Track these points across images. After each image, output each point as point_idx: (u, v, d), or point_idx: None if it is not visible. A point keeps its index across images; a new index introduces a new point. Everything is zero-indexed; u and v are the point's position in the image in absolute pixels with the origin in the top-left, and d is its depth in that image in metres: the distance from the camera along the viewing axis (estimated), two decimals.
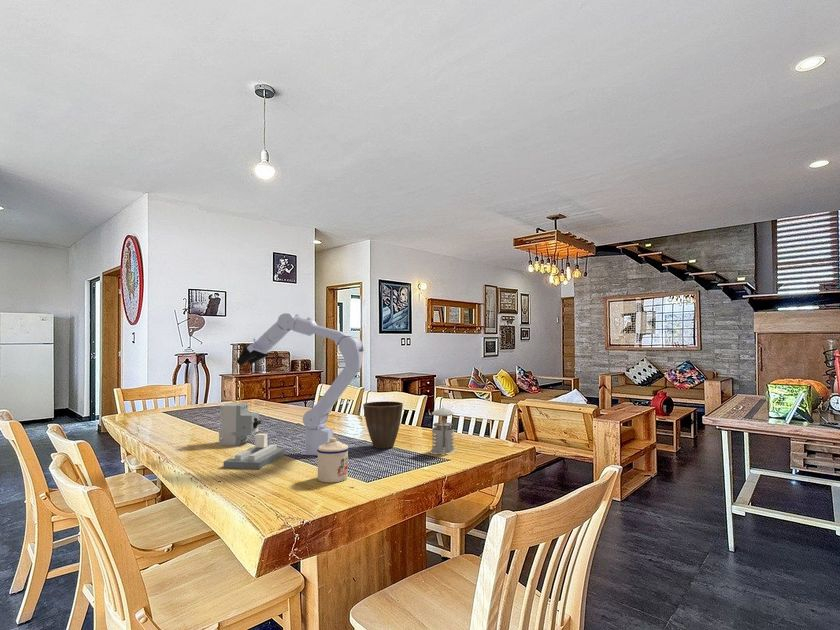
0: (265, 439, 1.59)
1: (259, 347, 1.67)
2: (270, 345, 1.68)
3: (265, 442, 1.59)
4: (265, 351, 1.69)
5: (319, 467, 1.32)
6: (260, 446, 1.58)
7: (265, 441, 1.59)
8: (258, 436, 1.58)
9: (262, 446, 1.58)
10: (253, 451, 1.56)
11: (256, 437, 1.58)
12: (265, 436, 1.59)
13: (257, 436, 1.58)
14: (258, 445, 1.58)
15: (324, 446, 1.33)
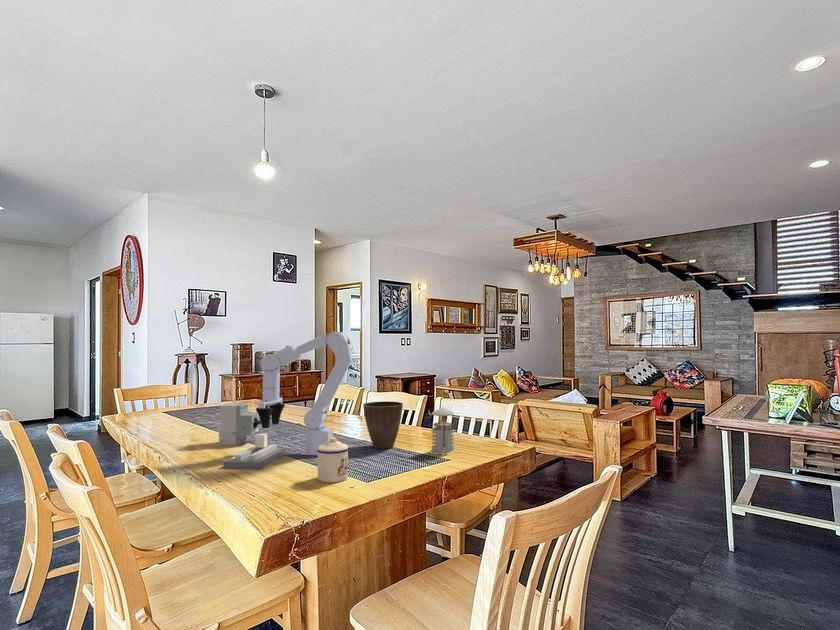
0: (265, 439, 1.59)
1: (269, 400, 1.64)
2: (275, 391, 1.65)
3: (265, 442, 1.59)
4: (276, 400, 1.65)
5: (319, 467, 1.32)
6: (260, 446, 1.58)
7: (265, 441, 1.59)
8: (258, 436, 1.58)
9: (262, 446, 1.58)
10: (253, 451, 1.56)
11: (256, 437, 1.58)
12: (265, 436, 1.59)
13: (257, 436, 1.58)
14: (258, 445, 1.58)
15: (324, 446, 1.33)
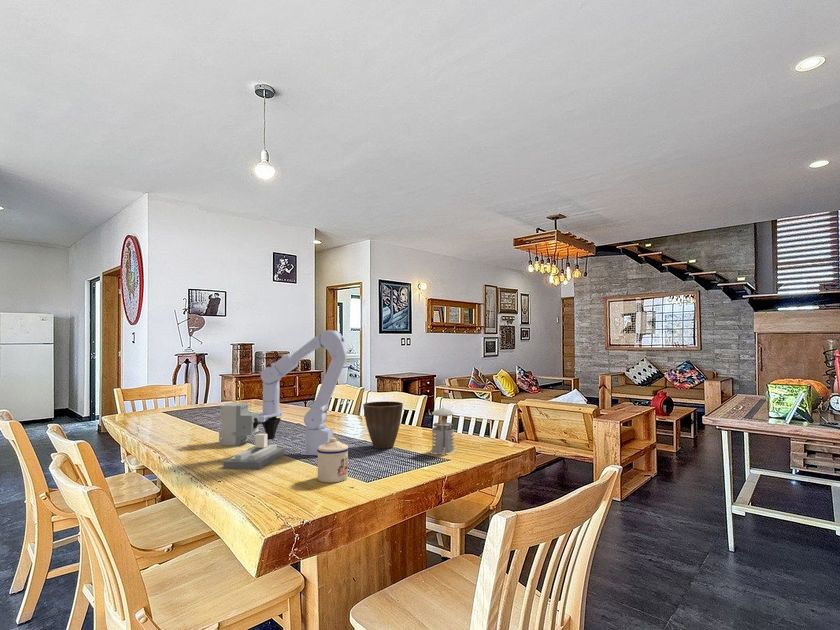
0: (265, 439, 1.59)
1: (268, 414, 1.63)
2: (275, 404, 1.65)
3: (265, 442, 1.59)
4: (276, 413, 1.65)
5: (319, 467, 1.32)
6: (260, 446, 1.58)
7: (265, 441, 1.59)
8: (258, 436, 1.58)
9: (262, 446, 1.58)
10: (253, 451, 1.56)
11: (256, 437, 1.58)
12: (265, 436, 1.59)
13: (257, 436, 1.58)
14: (258, 445, 1.58)
15: (324, 446, 1.33)
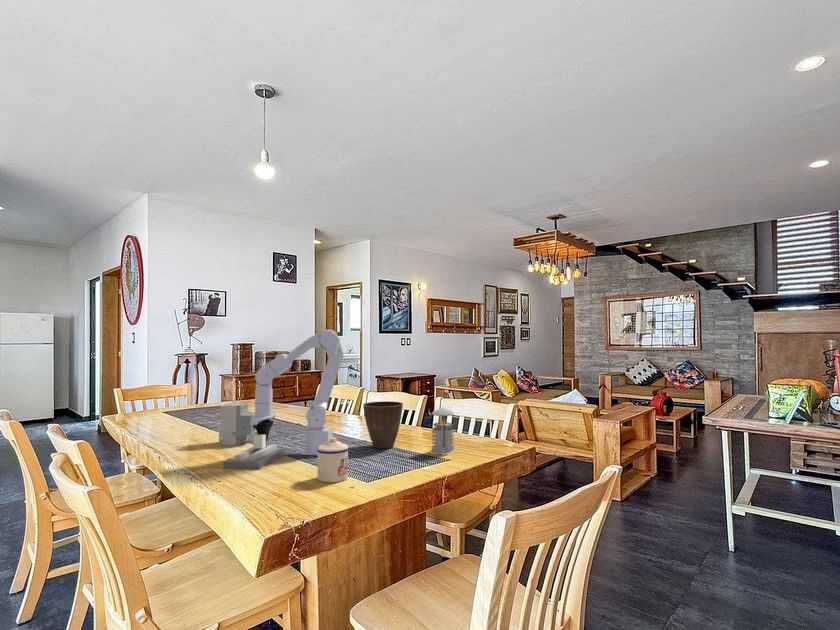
0: (263, 440, 1.57)
1: (261, 416, 1.58)
2: (268, 407, 1.59)
3: (263, 443, 1.57)
4: (269, 415, 1.59)
5: (319, 467, 1.32)
6: (258, 447, 1.56)
7: (263, 442, 1.57)
8: (256, 437, 1.57)
9: (260, 447, 1.56)
10: (253, 451, 1.56)
11: (254, 438, 1.57)
12: (263, 437, 1.57)
13: (255, 437, 1.57)
14: (256, 446, 1.57)
15: (324, 446, 1.33)
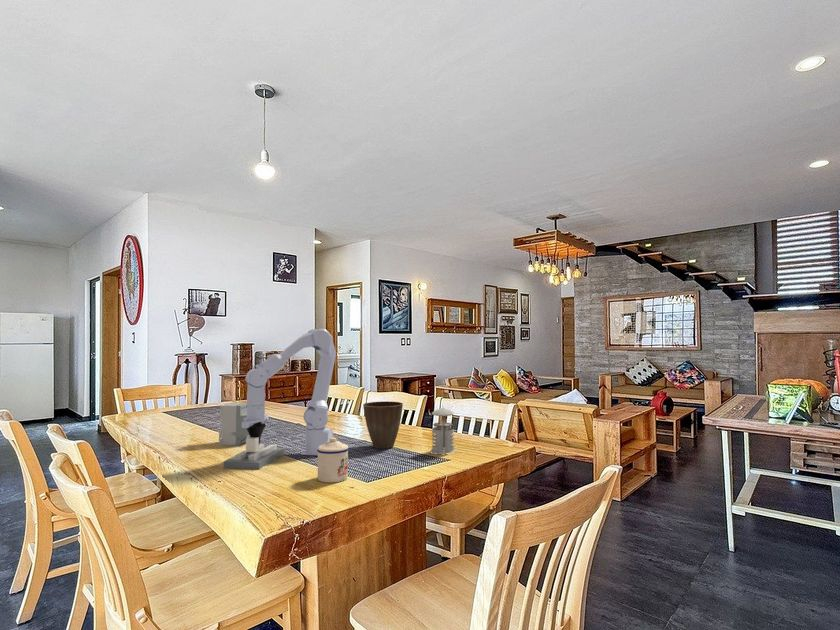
0: (256, 443, 1.52)
1: (253, 419, 1.52)
2: (260, 409, 1.54)
3: (256, 446, 1.52)
4: (261, 418, 1.54)
5: (319, 467, 1.32)
6: (251, 450, 1.51)
7: (256, 445, 1.52)
8: (249, 440, 1.52)
9: (253, 450, 1.51)
10: None
11: (247, 441, 1.52)
12: (256, 440, 1.52)
13: (248, 440, 1.52)
14: (249, 449, 1.52)
15: (324, 446, 1.33)
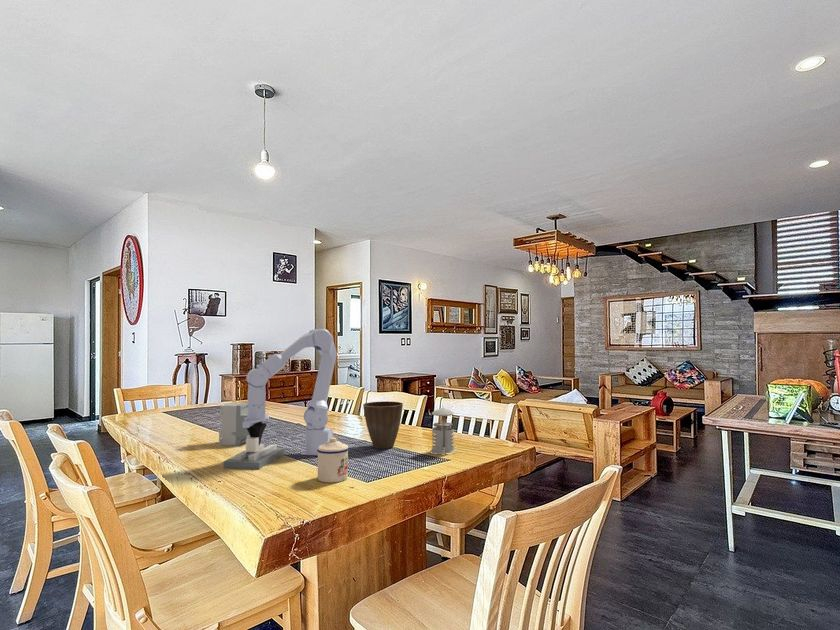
0: (256, 443, 1.52)
1: (254, 419, 1.53)
2: (261, 409, 1.54)
3: (256, 446, 1.52)
4: (262, 418, 1.54)
5: (319, 467, 1.32)
6: (251, 450, 1.52)
7: (256, 445, 1.52)
8: (249, 440, 1.52)
9: (253, 450, 1.51)
10: None
11: (247, 441, 1.52)
12: (256, 440, 1.53)
13: (248, 440, 1.52)
14: (249, 449, 1.52)
15: (324, 446, 1.33)
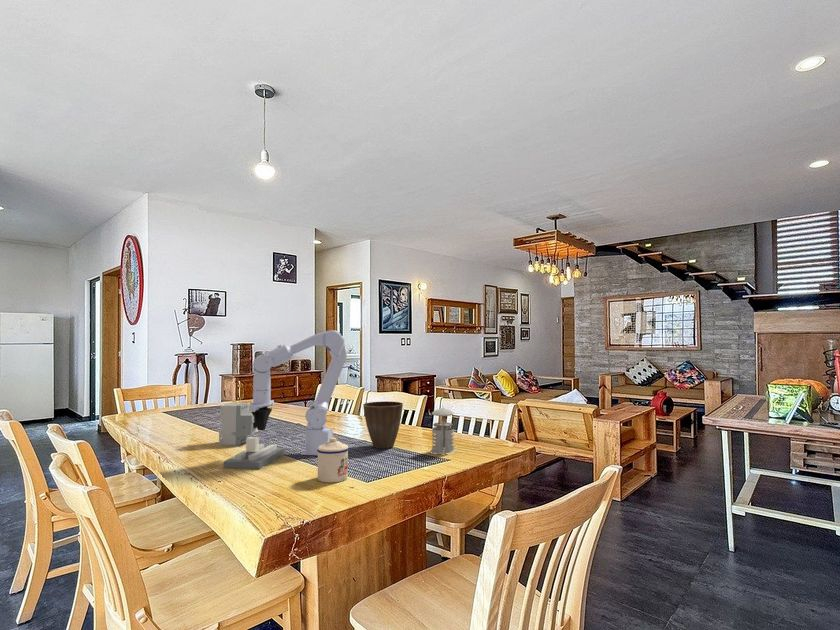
0: (256, 443, 1.53)
1: (259, 403, 1.57)
2: (266, 394, 1.58)
3: (256, 446, 1.53)
4: (267, 402, 1.59)
5: (319, 467, 1.32)
6: (251, 450, 1.52)
7: (256, 445, 1.53)
8: (249, 440, 1.52)
9: (253, 450, 1.52)
10: None
11: (247, 441, 1.52)
12: (256, 440, 1.53)
13: (248, 440, 1.52)
14: (249, 449, 1.52)
15: (324, 446, 1.33)
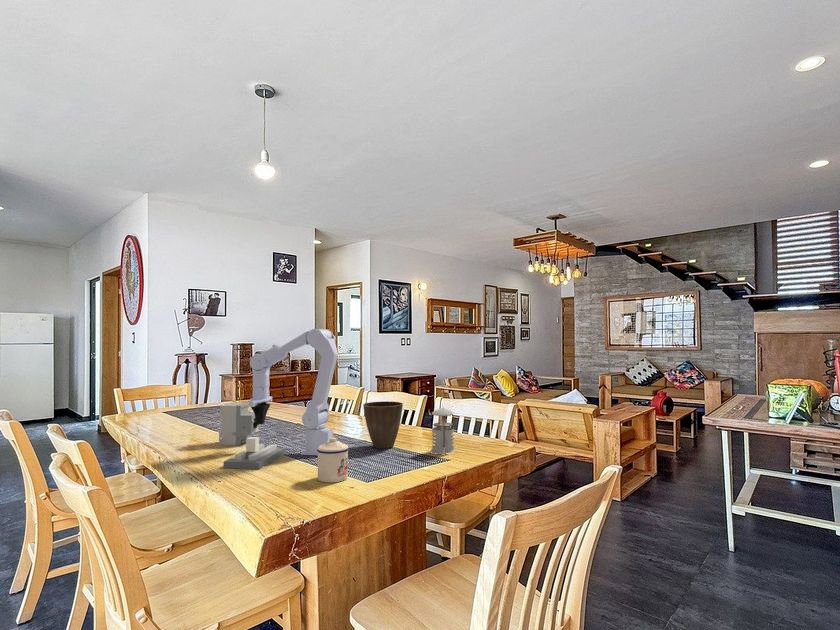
0: (256, 443, 1.53)
1: (258, 399, 1.68)
2: (265, 390, 1.70)
3: (256, 446, 1.53)
4: (266, 398, 1.70)
5: (319, 467, 1.32)
6: (251, 450, 1.52)
7: (256, 445, 1.53)
8: (249, 440, 1.52)
9: (253, 450, 1.52)
10: None
11: (247, 441, 1.52)
12: (256, 440, 1.53)
13: (248, 440, 1.52)
14: (249, 449, 1.52)
15: (324, 446, 1.33)
